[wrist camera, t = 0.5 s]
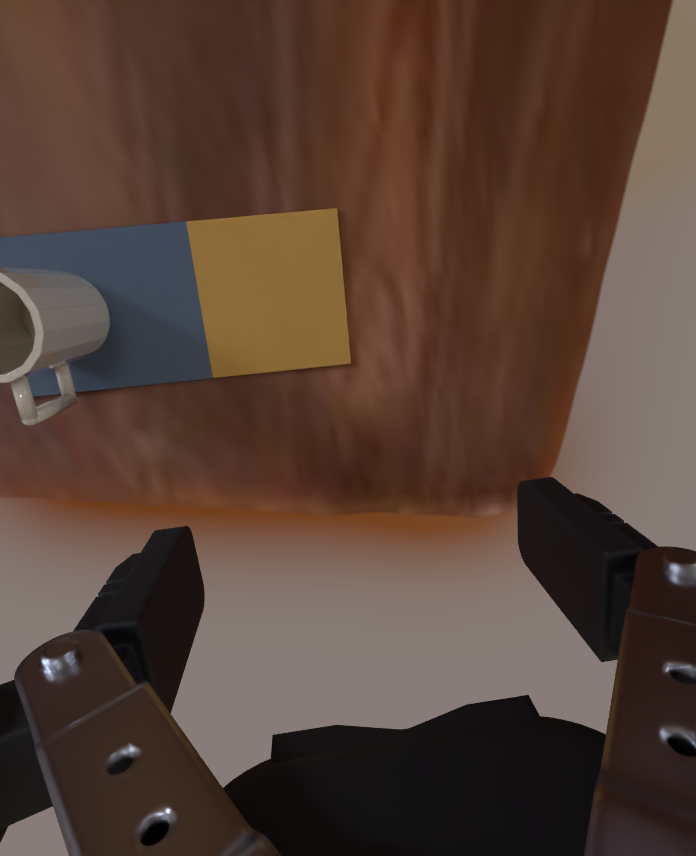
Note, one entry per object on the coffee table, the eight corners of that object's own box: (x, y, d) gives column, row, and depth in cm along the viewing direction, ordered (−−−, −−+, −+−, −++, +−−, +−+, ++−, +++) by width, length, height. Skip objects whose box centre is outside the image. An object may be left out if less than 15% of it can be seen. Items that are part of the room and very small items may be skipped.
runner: (-29, 240, 34) (-31, 240, 34) (337, 208, 35) (337, 208, 35) (16, 398, 37) (15, 398, 37) (350, 363, 38) (351, 363, 38)
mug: (9, 275, 34) (-98, 272, 25) (99, 267, 35) (25, 261, 26) (44, 402, 37) (-42, 440, 28) (127, 393, 37) (69, 428, 28)
